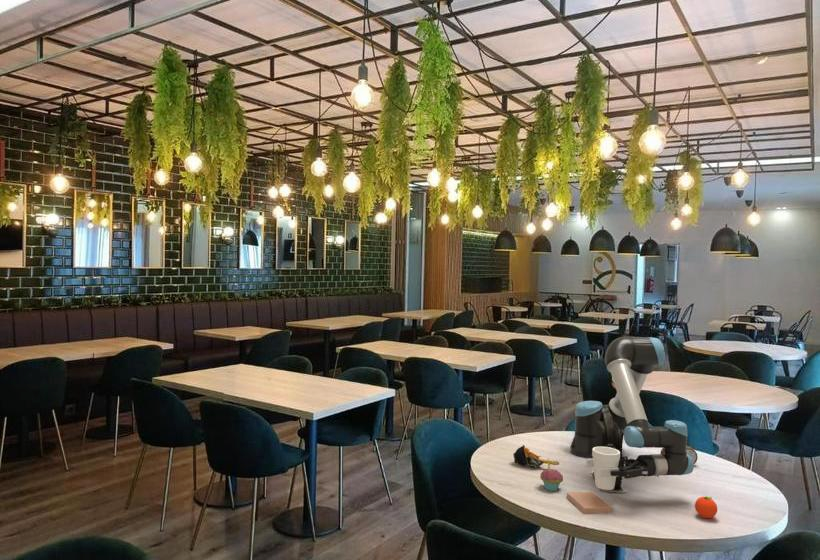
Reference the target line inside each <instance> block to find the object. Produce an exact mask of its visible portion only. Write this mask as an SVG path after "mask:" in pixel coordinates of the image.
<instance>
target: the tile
mask: <svg viewBox="0 0 820 560" xmlns="http://www.w3.org/2000/svg"><path fill="white" fill-rule="evenodd" d="M566 498H567V500H568V501H570V502H571V503H572V504H573V505H574V506H575V507H577V509H579V511H580V512H582V513H583V514H584V515H590V514H593V513H594V514H608V513H609V512H611V513H612V506H611V505H609V504H608V503H607V502H606V501H604V500H603V499H602V498H601V497H600V496H598V495H597V494H596V493H594V492H593V491H575V492H566Z"/></svg>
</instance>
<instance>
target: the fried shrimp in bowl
mask: <svg viewBox="0 0 820 560" xmlns="http://www.w3.org/2000/svg"><path fill="white" fill-rule="evenodd" d="M541 457H542V456H541V455H537V454H536V453H533V452H531V451H530V449H529V448H528V447H525V444H522V446H521V447H518V448H517V449H516V450H515V452H514V453H513V459H514V461H513V462H514V464H518V465H520V466H527V467H529V468H531V469H536V468H537V467H540V466H542V465H543V464H547V465H548V460H549V462H550V465H552V466H559V465H560V462H559V461H557V460H550V459H541Z"/></svg>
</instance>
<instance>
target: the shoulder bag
mask: <svg viewBox="0 0 820 560" xmlns="http://www.w3.org/2000/svg"><path fill="white" fill-rule="evenodd" d="M623 442H624V432H623V431H622V430H621V429H620V428H619V427H618V426H617V424H616V423H615V422H613V420H612V415H611V413H610V412H607V411H603V412H601V415H600V421H597V422H596V438H595V447H610V448H614V449H616V450H619V452H620V457H623ZM618 468H619V470H620V467H618ZM590 475H591V477H592V479H593V480H594V481H595V474H594V472H593V473H590ZM622 480H623V477H620V476H616V481H615V486H614V489H612V490H604V489H600V488H598V490H599V492H606V493H620V494H625V491H624V489H623V488H622Z"/></svg>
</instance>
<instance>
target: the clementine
mask: <svg viewBox="0 0 820 560" xmlns="http://www.w3.org/2000/svg"><path fill="white" fill-rule="evenodd" d="M694 509H695V512H696V514H698V515H699V516H700V517H702V518H703V519H711V518H714V517H715V516H716V515H717V513H718V506H717V503H716V502H715V501H714V499H712V497H711V496H708V495H706V496H701V497H698V498H697V499H696V501H695V503H694Z"/></svg>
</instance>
